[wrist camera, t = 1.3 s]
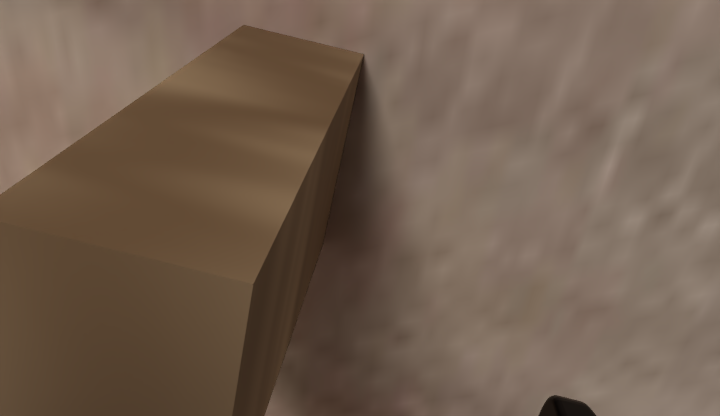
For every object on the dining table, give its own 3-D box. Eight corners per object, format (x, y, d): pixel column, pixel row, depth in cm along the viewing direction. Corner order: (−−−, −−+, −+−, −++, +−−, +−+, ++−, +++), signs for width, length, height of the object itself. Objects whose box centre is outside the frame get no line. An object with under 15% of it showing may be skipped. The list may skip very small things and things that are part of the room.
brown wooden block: (363, 54, 12) (253, 284, 5) (322, 243, 14) (203, 593, 7) (243, 24, 12) (-29, 214, 5) (219, 218, 14) (1, 542, 7)
